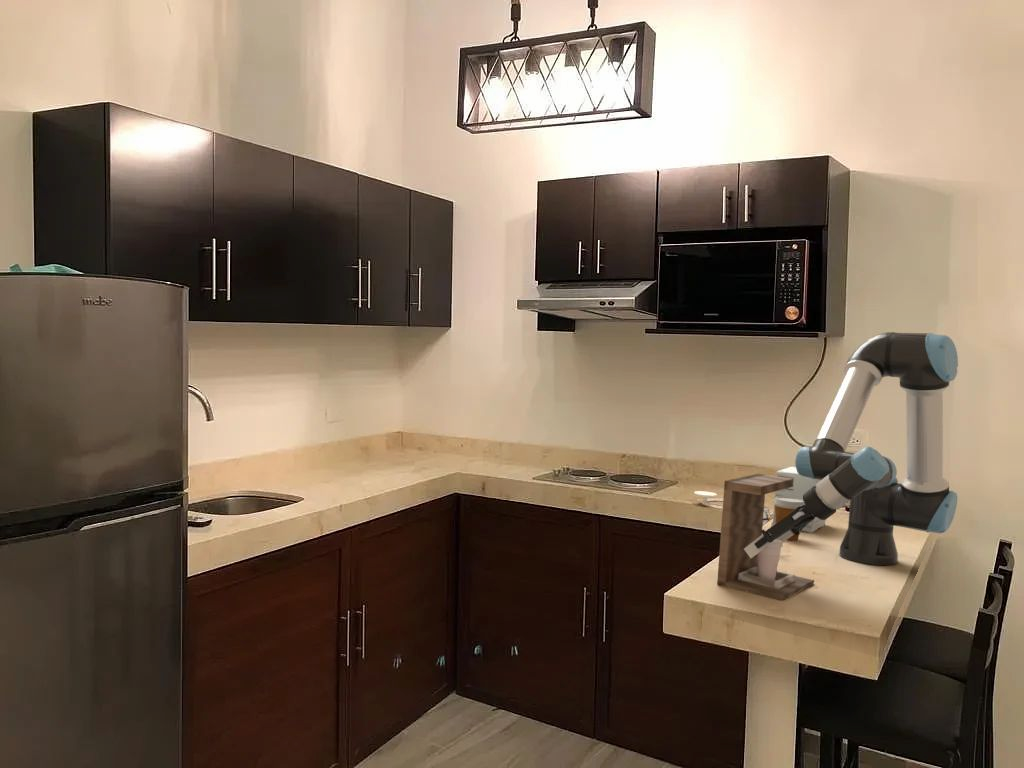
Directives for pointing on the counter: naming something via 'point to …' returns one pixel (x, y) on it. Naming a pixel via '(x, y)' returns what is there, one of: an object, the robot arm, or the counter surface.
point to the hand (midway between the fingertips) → (759, 549)
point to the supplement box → (798, 493)
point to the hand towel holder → (705, 500)
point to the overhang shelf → (750, 538)
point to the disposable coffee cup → (787, 509)
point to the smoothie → (769, 559)
